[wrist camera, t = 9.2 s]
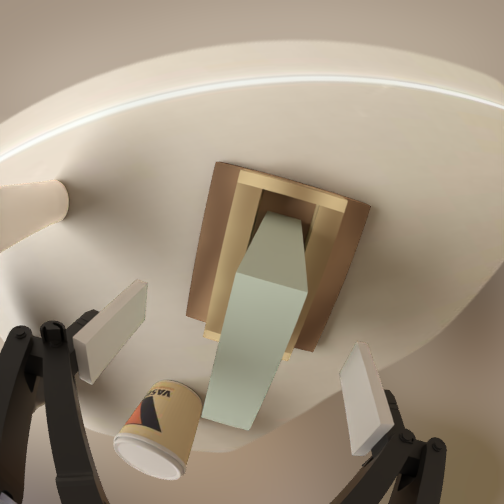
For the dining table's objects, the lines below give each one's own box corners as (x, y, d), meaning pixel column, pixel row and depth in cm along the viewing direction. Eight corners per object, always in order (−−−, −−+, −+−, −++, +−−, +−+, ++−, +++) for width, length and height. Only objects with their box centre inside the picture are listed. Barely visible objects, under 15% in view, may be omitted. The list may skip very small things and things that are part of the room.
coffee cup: (176, 367, 34) (138, 436, 22) (221, 410, 35) (199, 480, 24) (136, 385, 36) (98, 442, 25) (178, 423, 38) (152, 481, 27)
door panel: (241, 308, 28) (201, 417, 15) (267, 210, 25) (235, 272, 11) (270, 316, 28) (249, 430, 15) (300, 220, 24) (307, 292, 11)
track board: (189, 310, 30) (177, 328, 27) (219, 161, 25) (207, 162, 22) (312, 345, 30) (313, 367, 26) (367, 204, 24) (378, 211, 21)
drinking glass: (45, 227, 30) (-41, 266, 16) (39, 177, 28) (-53, 201, 14) (78, 225, 29) (-19, 269, 15) (72, 169, 27) (-34, 190, 13)
